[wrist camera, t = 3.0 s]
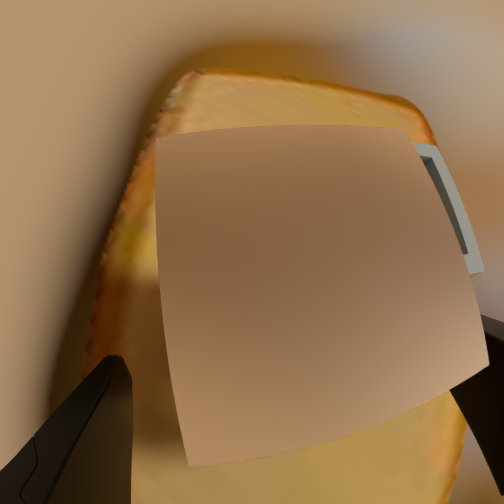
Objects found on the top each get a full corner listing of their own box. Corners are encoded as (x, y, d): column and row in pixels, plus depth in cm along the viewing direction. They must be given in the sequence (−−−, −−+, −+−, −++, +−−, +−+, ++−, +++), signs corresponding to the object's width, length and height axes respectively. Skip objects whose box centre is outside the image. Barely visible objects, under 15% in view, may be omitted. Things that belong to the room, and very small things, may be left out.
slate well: (442, 292, 17) (484, 271, 13) (325, 309, 17) (357, 289, 12) (408, 180, 21) (436, 146, 17) (301, 176, 20) (317, 130, 16)
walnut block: (301, 370, 15) (489, 364, 3) (220, 385, 15) (188, 466, 3) (286, 294, 17) (404, 129, 5) (208, 306, 16) (156, 137, 4)
